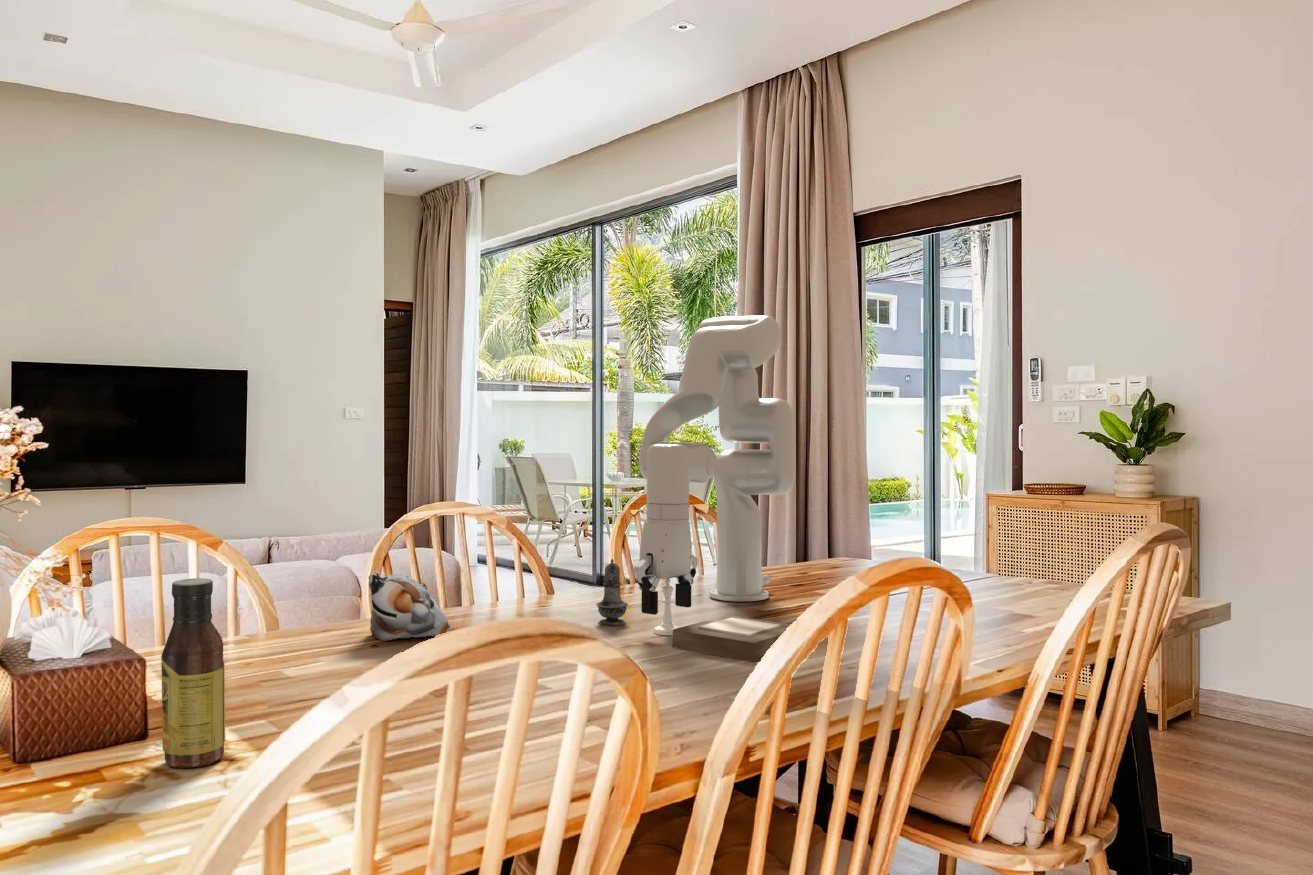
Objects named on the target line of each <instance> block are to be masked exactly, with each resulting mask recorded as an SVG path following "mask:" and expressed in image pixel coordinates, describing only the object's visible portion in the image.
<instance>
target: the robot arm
mask: <svg viewBox="0 0 1313 875" xmlns="http://www.w3.org/2000/svg"><path fill="white" fill-rule="evenodd" d="M781 335H782V332H781V328H780V325H779V322H777V320H776V319H775V318H774V317H773V316H771V315H762V314H760V315H737V316H736V315H735V316H731V315H730V316H717V317H711V318H708V319H704V320H702V322H700V323H699V324H698V327H697V330H696V331H695V332H694V333H692V335H691V338H690V340H689V343H688V344H689V345H688V348H687V352H686V356H685V361H684V364H683V368H682V373H681V377H680V381H679V386H678V390H677V392H676V393H675V394H674V395H672V396H670V397H669V398H668V399H667V400H666V401H665V402H664V403H662V405H661V406H660V407H659V408H658V410H656V411H655V413H653V415H652V416H651V418H650V419H649V420H648V421H647V422H648V423H647V425H646V427H645V430H644V434H643V435H642V436H643V437H642V441H641V445H640V449H639V456H638V469H639V473H640V475H641V477H642V478H644V480H646V516H645V517H646V521H644V522H643V526H642V531H641V538H640V546H639V559H638V562H637V564H635V565H634V567H633V572H634V575H635V580H636V583H637V584H638V587H639V590H640V591H641V612H642V614H647V615H658V613H659V591H657V590H656V589H657V588H658V585H659V583H660V581H661V580H666V579H673V578H675V579H676V581H677V583H675V597H674V598H675V599H674V603H675V606H676V607H681V608H691V607H692V586H693V584H694V583H695V580H694V578H695V576H696V574H697V568H698V565H699V558H698V557H697V556H695V555H694V554H693V548H692V546H693V545H692V535H691V533H692V532H691V526H690V521H689V520H690V516H689V515H690V484H691V485H693V484H694V485H695V484H697V485H699V484H704V483H706V482H708V481H710V480H711V479H712V478H713V483H714V489H715V496H716V497H715V498H716V588H713V589H710V591H709V597H710V598H711V599H714V600H718V601H725V602H739V603H741V602H743V603H744V602H746V603H747V602H758V601H765V600H767V599H768V598H769V596H770V594H769V591H768V590H766V589H763V586H764V585H767V584H770V583H771V580H772V579H771V576H770V575H769V574H764V575H763V574H762V532H763V530H762V529H763V528H762V523H763V522H762V521H763V518H762V513H761V510H760V508H759V506H758V505H757V503H756V502H755V501H754V498H753V497H752V496H755V495H756V496H757V495H758V496H759V495H760V496H761V495H762V496H766V495H767V496H783V495H786V494H789V493H790V492H791V491H792V490H793V489H794V488H793V487H794V486H795V481H796V480H795V479H796V440H795V438H796V436H795V435H796V434H795V433H796V432H795V429H796V428H795V416H794V412H793V408H792V406H791V405H790V404H789V402H788V401H787V400H785V399H782V398H777V397H767V398H766V397H765V398H764V397H762V398H761V397H760V396H759V378H758V377H759V375H758V372H757V370H756V368H759V367H760V366H762V365H763V364H765V363H766V362H768V361H769V360H770V359H772V358H773V357H774V356H775V354H776V353H777V352H778V350H779V347H780V344H781V339H782V338H781V337H782V336H781ZM716 409H718V428H719V432H720V436H721V437H722V439H723V440H724V441H726V442H729V443H737V444H739V443H740V444H767V445H769V448H770V449H756V448H755V449H754V448H753V449H750V448H749V449H748V448H747V449H744V448H742V449H741V448H739V449H737V448H734V449H732V448H731V449H728V450H727V449H726V450H724V451H723V450H722V451H721V452H720V453H719V454H717V455H716V454H715V452H714V449H712V448H711V447H710V446H708V444H707V445H706V444H705V443H701V442H700V443H699V442H682V441H681V442H675V441H674V442H671V441H668V442H667V441H666V440H668V438H669V437H670V435H671V434H672V433H674V431H675V430H676V429H678V428H679V427H681V426H682V425H684V424H687V423H688V422H690V421H693V420H695V419H699V418H700V417H702V416H704V415H706V414H709V413H711V412H713V411H715V410H716ZM650 580H652V581H650Z"/></svg>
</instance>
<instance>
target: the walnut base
mask: <svg viewBox="0 0 1313 875" xmlns="http://www.w3.org/2000/svg"><path fill="white" fill-rule="evenodd" d="M790 624H791V623H784V622H779V621H776V622H775V621H770V620H762V619H757V618H750V617H744V616H743V617H741V616H736V615H729V614H728V615H727V614H726V615H722V616H719V617H714V618H711V619H707V620H703V621H700V622H696V623H693V624H688V625H685V626H681V627H680V626H679V627H680V628H677V629H673V635H672V649H678V650H679V649H680V650H684V651H690V652H695V653H701V654H706V655H712V656H717V657H718V656H719V657H722V658H723V657H725V658H729V659H735V660H741V661H746V662H752V663H755V662H759V661H761V660H760V659H761V658H762V657H763V656H764V654H765V653H766V651H767V650H768V649H769V648H770V646H771V645H772V644H773V643H774V642H775V641H776V640H777V639H778V637H779V636H780V635H781V634H782V633H783V632H784V631H786V628H787V627H788V626H789V625H790Z"/></svg>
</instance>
